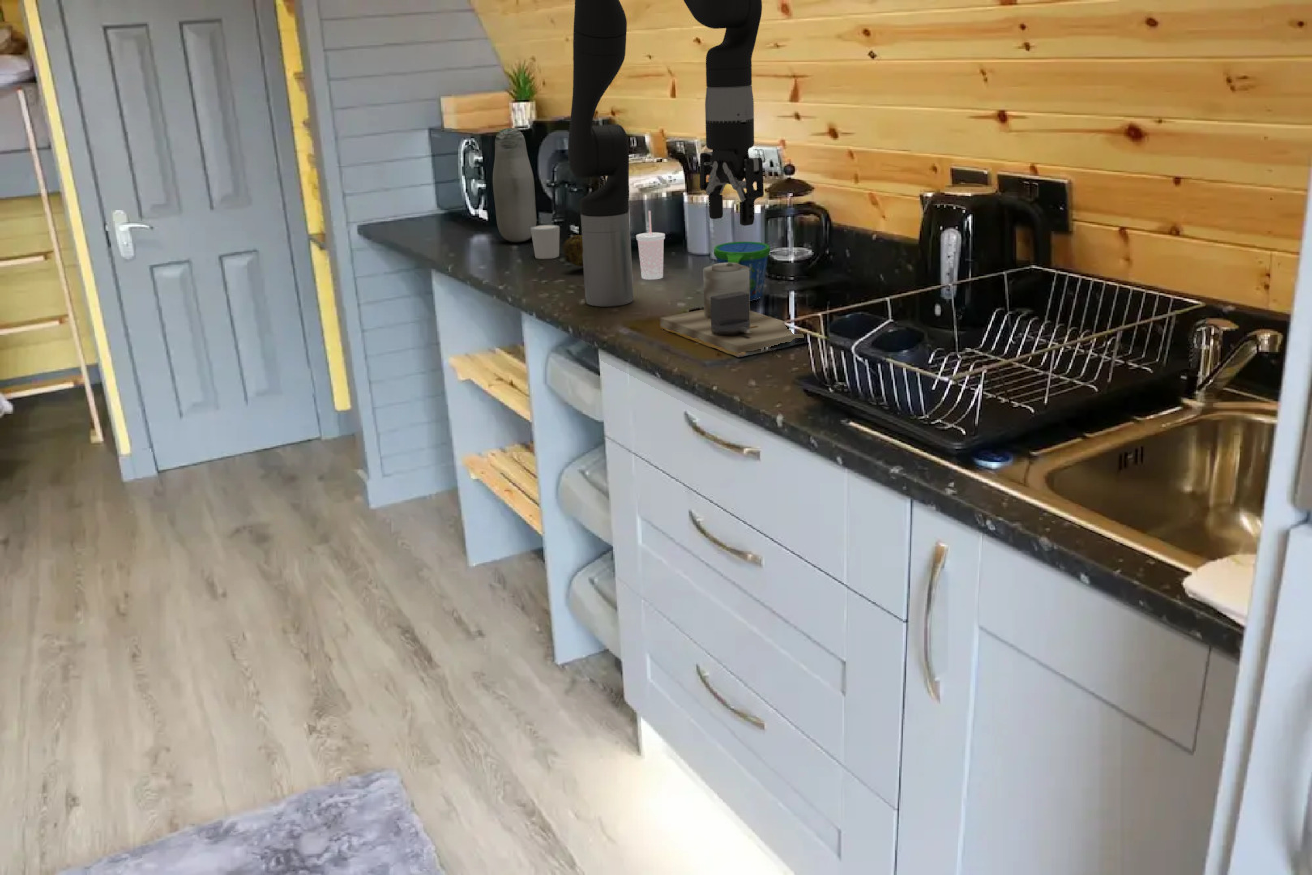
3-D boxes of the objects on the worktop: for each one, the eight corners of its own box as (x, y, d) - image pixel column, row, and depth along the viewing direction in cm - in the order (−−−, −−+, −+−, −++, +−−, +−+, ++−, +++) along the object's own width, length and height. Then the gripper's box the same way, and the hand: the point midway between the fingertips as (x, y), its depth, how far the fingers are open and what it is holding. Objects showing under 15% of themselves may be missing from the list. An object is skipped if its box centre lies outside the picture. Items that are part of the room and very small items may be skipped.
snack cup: (754, 310, 206) (754, 255, 202) (702, 306, 210) (700, 253, 207) (781, 291, 219) (781, 240, 216) (731, 288, 223) (730, 238, 220)
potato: (626, 269, 246) (624, 233, 243) (570, 276, 241) (567, 239, 238) (613, 263, 253) (611, 228, 250) (559, 269, 248) (556, 233, 246)
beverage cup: (663, 280, 233) (661, 213, 229) (635, 280, 235) (631, 213, 230) (669, 274, 239) (666, 208, 234) (641, 274, 240) (638, 208, 235)
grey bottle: (493, 241, 286) (483, 128, 276) (531, 236, 290) (522, 125, 280) (505, 247, 277) (494, 131, 268) (543, 242, 281) (535, 128, 272)
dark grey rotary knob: (703, 329, 185) (702, 294, 183) (735, 323, 188) (734, 289, 186) (732, 340, 178) (731, 304, 176) (764, 333, 181) (764, 297, 179)
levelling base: (660, 328, 196) (657, 266, 192) (730, 315, 203) (729, 254, 199) (738, 358, 177) (737, 289, 173) (813, 342, 184) (813, 275, 180)
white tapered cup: (560, 258, 260) (557, 228, 258) (530, 259, 260) (528, 230, 258) (563, 253, 267) (560, 223, 264) (534, 254, 267) (532, 225, 264)
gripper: (684, 116, 177) (687, 219, 182) (736, 121, 165) (738, 230, 171) (723, 113, 180) (725, 214, 186) (776, 117, 169) (777, 224, 174)
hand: (731, 221), depth 178 cm, fingers open, 8 cm apart
